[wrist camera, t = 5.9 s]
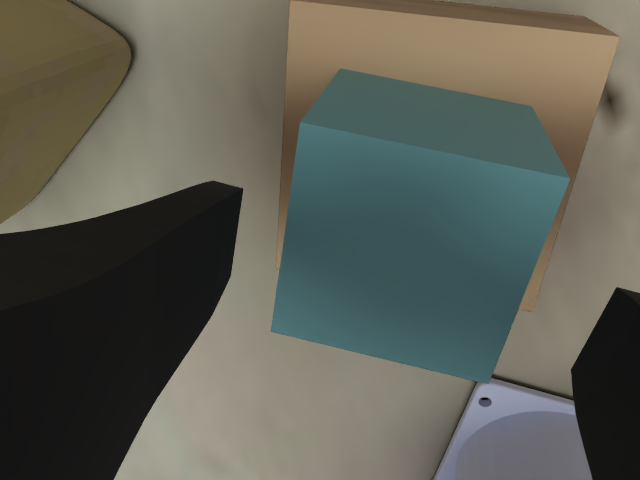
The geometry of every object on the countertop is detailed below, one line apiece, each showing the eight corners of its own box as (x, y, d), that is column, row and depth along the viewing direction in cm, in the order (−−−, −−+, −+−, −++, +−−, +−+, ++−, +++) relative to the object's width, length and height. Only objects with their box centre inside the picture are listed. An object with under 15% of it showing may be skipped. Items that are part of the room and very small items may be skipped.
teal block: (476, 270, 17) (488, 384, 13) (313, 233, 18) (271, 331, 13) (532, 106, 15) (569, 178, 10) (340, 68, 15) (300, 122, 11)
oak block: (516, 249, 21) (532, 311, 17) (301, 215, 22) (275, 268, 18) (583, 15, 17) (620, 36, 14) (318, -13, 18) (290, 0, 15)
